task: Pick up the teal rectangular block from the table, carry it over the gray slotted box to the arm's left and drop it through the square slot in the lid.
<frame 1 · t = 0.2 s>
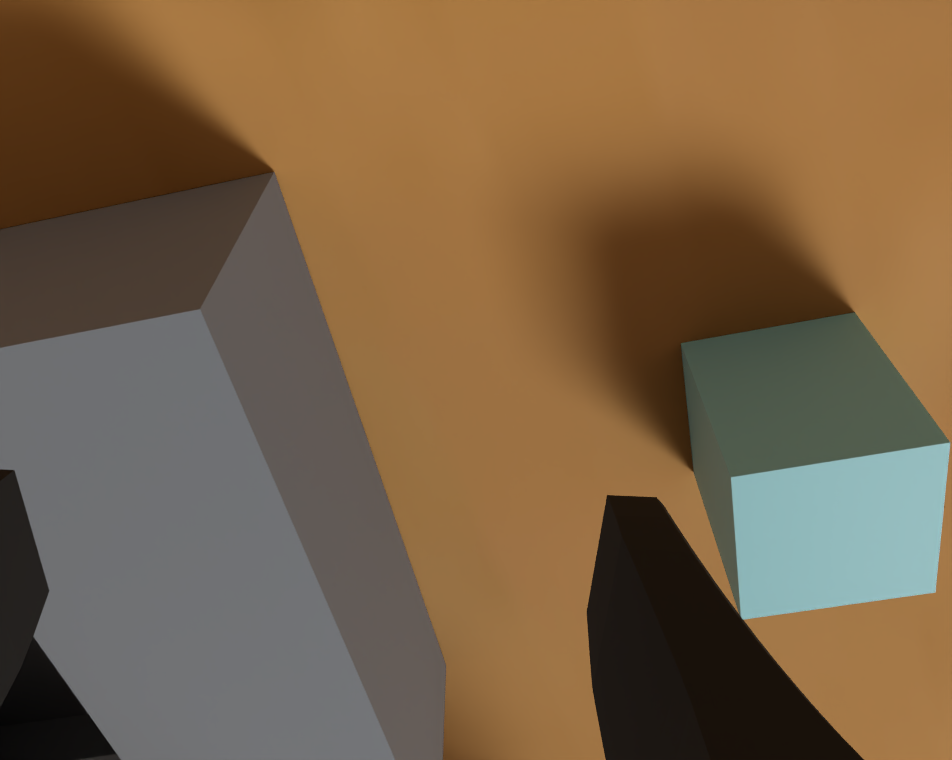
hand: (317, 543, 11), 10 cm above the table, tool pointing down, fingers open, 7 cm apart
gray slotted box: (53, 519, 24), on the table
teal rectangular block: (768, 396, 22), on the table
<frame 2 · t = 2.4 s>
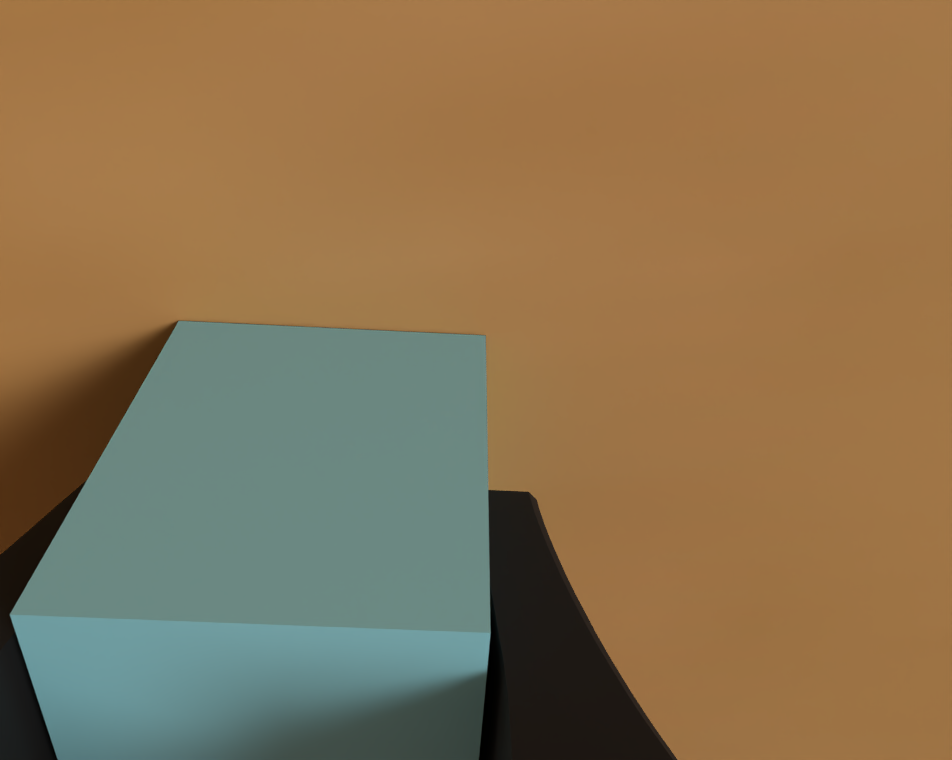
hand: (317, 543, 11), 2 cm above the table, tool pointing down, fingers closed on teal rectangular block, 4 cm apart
teal rectangular block: (337, 449, 13), on the table, touching gripper
when the fingers open (7 cm above the table, at t = 7.0 s): teal rectangular block drops 4 cm, resting on gray slotted box.
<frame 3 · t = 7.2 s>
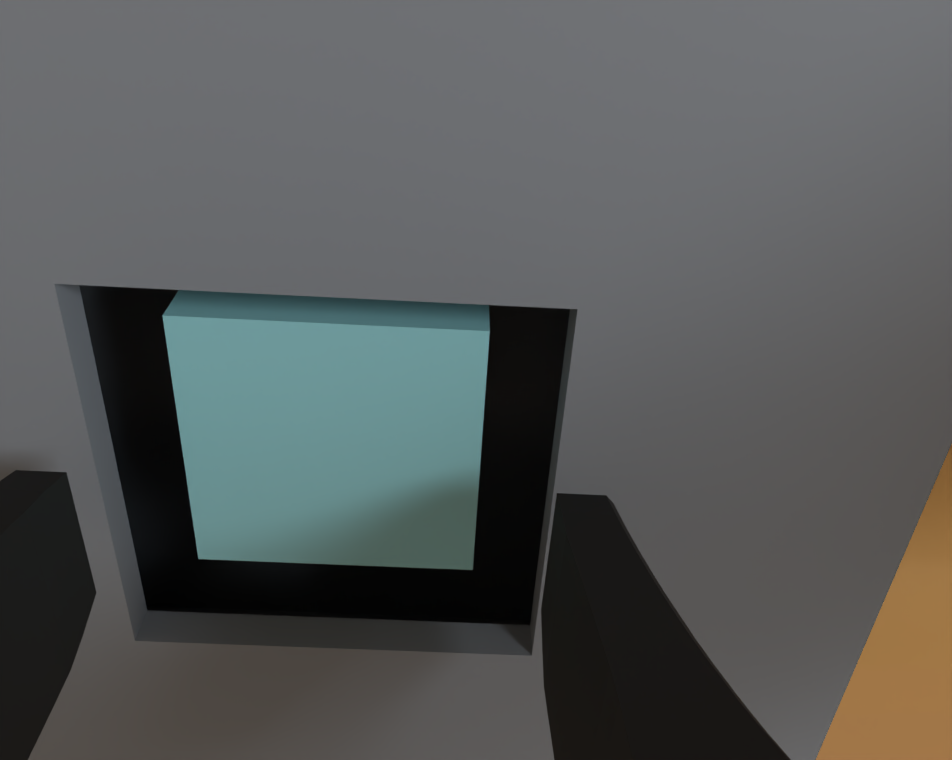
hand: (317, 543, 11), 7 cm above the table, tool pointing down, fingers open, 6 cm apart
gray slotted box: (371, 290, 17), on the table
teal rectangular block: (369, 290, 16), point 1 cm above the table, touching gray slotted box
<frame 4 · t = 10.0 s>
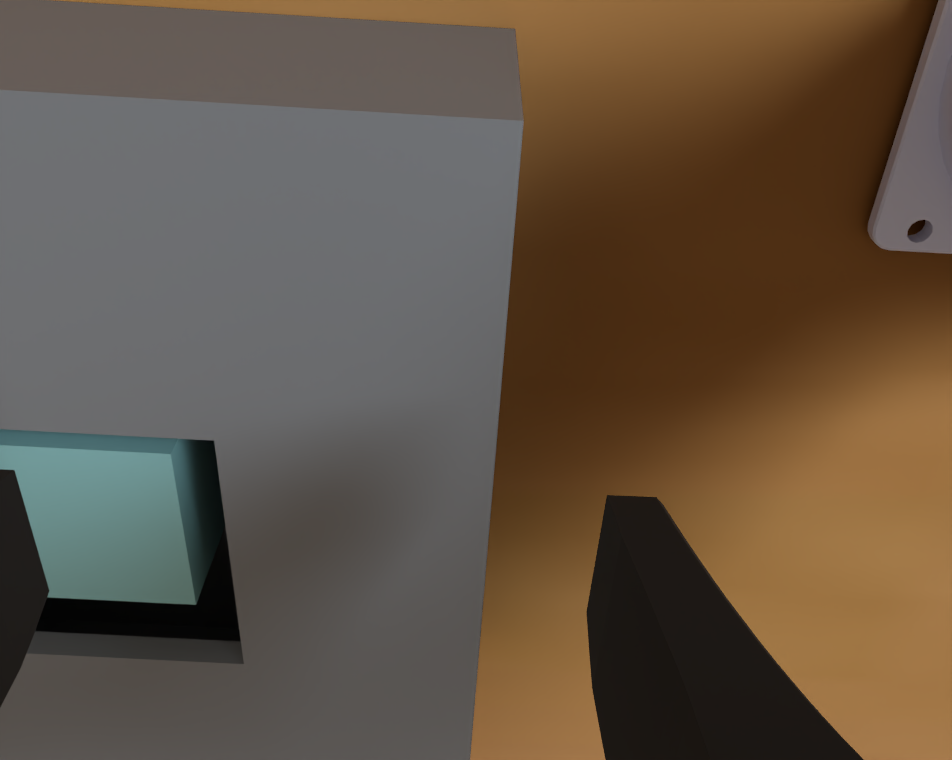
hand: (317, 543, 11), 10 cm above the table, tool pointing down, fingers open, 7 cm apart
gray slotted box: (169, 385, 22), on the table
teal rectangular block: (161, 388, 22), point 1 cm above the table, touching gray slotted box
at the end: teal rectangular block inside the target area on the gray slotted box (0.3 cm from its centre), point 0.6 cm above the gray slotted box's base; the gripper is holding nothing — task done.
